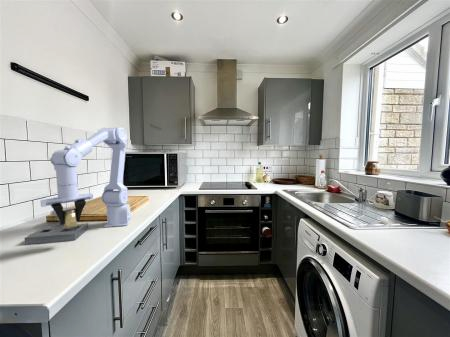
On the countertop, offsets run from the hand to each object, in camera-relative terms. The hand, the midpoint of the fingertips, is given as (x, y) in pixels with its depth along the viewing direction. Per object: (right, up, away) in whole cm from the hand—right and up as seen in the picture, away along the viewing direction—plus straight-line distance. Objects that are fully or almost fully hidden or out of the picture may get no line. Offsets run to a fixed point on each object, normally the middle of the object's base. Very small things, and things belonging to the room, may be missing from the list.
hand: (70, 222), depth 73 cm
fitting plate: (-11, -8, +9) cm, 16 cm away
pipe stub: (0, -1, 0) cm, 1 cm away
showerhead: (-20, -7, +23) cm, 32 cm away
